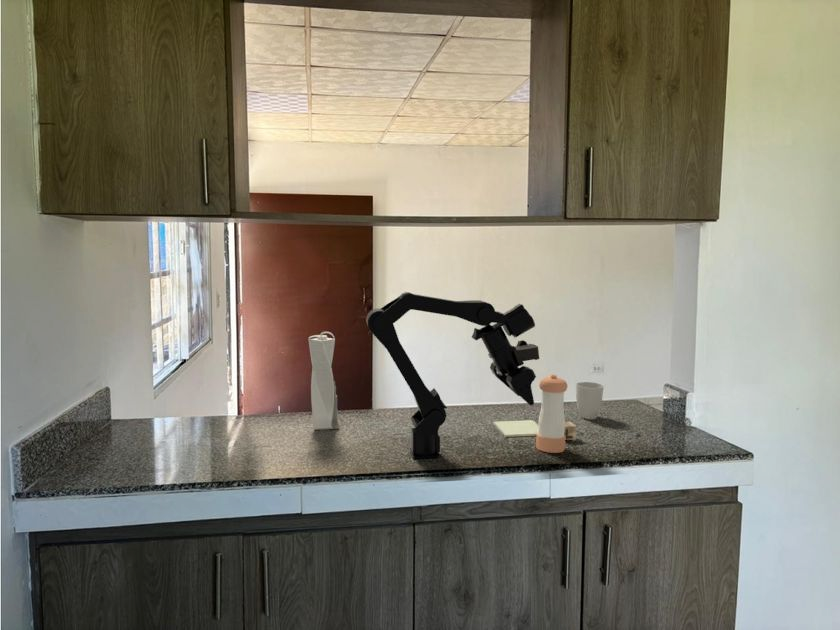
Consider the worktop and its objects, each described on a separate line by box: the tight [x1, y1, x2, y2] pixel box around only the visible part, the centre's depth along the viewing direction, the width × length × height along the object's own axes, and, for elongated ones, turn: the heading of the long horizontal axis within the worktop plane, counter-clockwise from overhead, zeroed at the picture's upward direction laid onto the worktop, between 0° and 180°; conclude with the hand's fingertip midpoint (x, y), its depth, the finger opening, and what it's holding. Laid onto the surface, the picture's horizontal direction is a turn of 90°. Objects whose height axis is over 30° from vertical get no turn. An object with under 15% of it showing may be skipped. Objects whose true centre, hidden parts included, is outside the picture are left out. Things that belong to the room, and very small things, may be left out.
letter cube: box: [564, 421, 577, 441], centre depth 151 cm, size 4×4×4 cm
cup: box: [575, 381, 605, 420], centre depth 171 cm, size 8×8×10 cm
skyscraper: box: [308, 331, 340, 431], centre depth 158 cm, size 8×8×28 cm
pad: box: [492, 419, 538, 438], centre depth 159 cm, size 12×12×1 cm
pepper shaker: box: [535, 374, 568, 454], centre depth 143 cm, size 7×7×19 cm
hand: (526, 399), depth 141 cm, fingers open, 9 cm apart
